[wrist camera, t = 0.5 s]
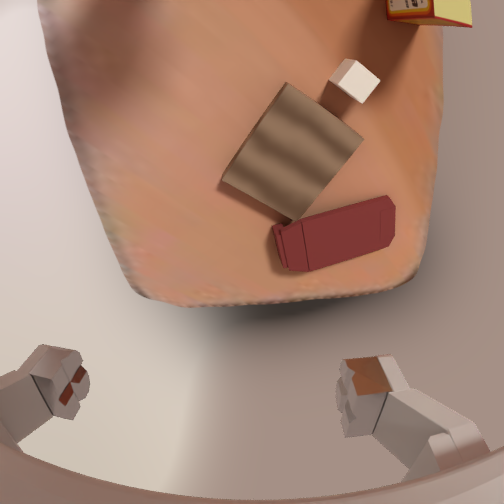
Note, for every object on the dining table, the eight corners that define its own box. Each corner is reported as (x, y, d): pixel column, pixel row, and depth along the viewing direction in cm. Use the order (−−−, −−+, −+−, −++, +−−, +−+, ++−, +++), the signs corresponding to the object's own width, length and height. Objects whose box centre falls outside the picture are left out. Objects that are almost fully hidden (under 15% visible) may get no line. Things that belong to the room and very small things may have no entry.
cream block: (345, 58, 43) (356, 60, 39) (367, 76, 45) (380, 80, 40) (328, 79, 46) (337, 84, 41) (350, 97, 48) (362, 103, 43)
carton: (383, 186, 61) (270, 217, 62) (395, 196, 58) (275, 230, 58) (383, 232, 69) (280, 264, 69) (394, 244, 65) (286, 278, 65)
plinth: (286, 81, 46) (288, 83, 44) (359, 134, 52) (364, 139, 49) (222, 173, 56) (221, 180, 54) (294, 214, 62) (296, 222, 59)
